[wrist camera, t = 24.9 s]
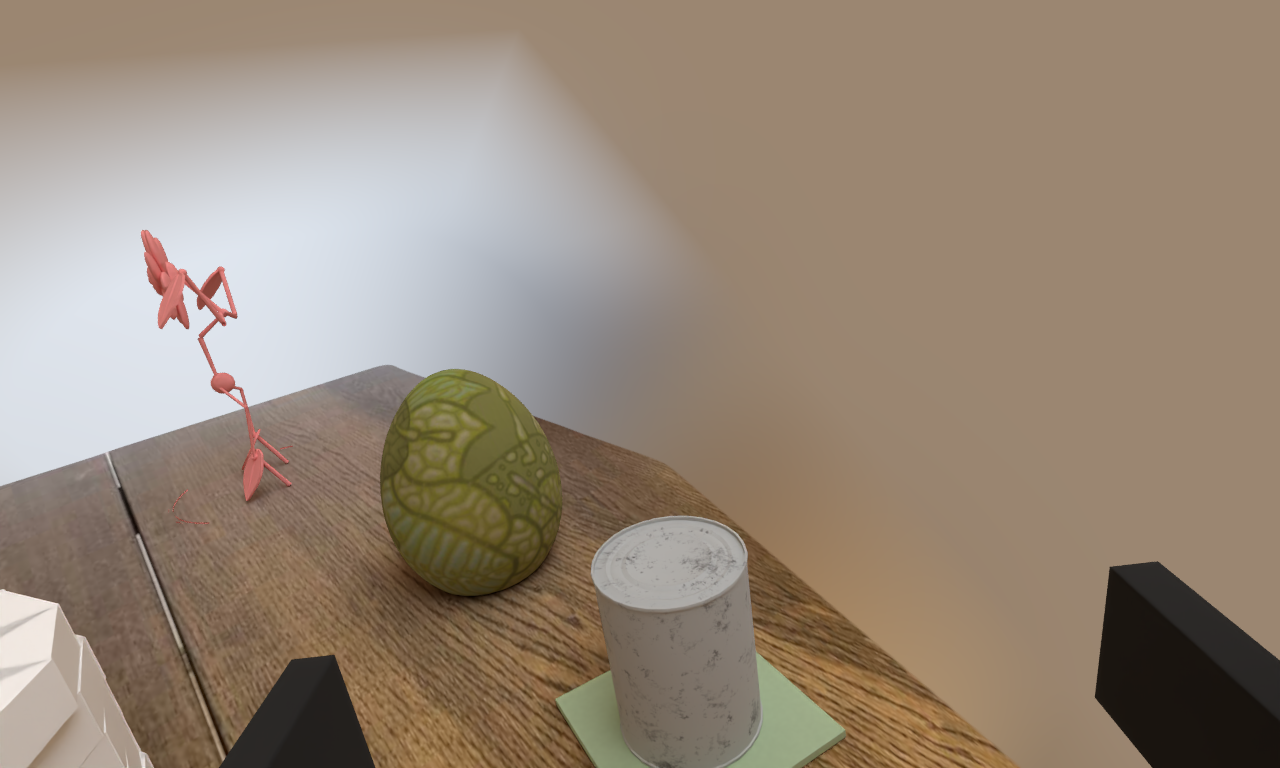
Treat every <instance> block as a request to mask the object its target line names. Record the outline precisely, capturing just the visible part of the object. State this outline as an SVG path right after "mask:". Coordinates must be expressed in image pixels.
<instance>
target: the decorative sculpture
mask: <svg viewBox="0 0 1280 768" xmlns="http://www.w3.org/2000/svg"><path fill="white" fill-rule="evenodd" d="M380 489H381V500H382V507H383V513H384V517H385V521H386V524H387V527H388V530H389V532H390V535H391V538H392V540H393V542H394V544H395V546H396V548H397V549H398V551H399V553H400V554H401V556H402V557H403V558H404V560H405V561H406V562H407V564H408V565H409V566H410V567H411V568H412V569H413V570H414V571H415V572H416V573H417V574H418V575H419V576H421V577H422V578H423V579H424V580H426V581H427V582H429V583H430V584H432V585H433V586H435V587H437V588H439V589H441V590H443V591H445V592H448V593H451V594H456V595H463V596H476V595H485V594H490V593H493V592H497V591H500V590H504V589H506V588H508V587H511V586H513V585H515V584H517V583H519V582H520V581H522V580H523V579H525V578H526V577H528V576H529V575H530V574H532V573H533V572H534V571H535V570H536V569H537V568H538V567H539V566H540V565H541V564H542V562H543V561H544V559H545V558H546V556H547V554H548V552H549V551H550V549H551V547H552V545H553V543H554V540H555V538H556V535H557V532H558V528H559V524H560V519H561V513H562V488H561V480H560V475H559V470H558V466H557V462H556V459H555V457H554V454H553V451H552V449H551V447H550V444H549V442H548V440H547V438H546V436H545V434H544V432H543V431H542V429H541V427H540V426H539V424H538V422H537V421H536V420H535V418H534V417H533V416H532V414H531V413H530V412H529V411H528V409H527V408H526V407H525V406H524V405H523V404H522V403H521V402H520V401H519V400H518V399H517V398H516V397H515V396H514V395H513V394H512V393H510V392H509V391H508V390H507V389H505V388H504V387H503V386H501V385H499V384H498V383H496V382H495V381H493V380H492V379H490V378H488V377H486V376H483V375H481V374H478V373H476V372H472V371H468V370H461V369H449V370H443V371H440V372H437V373H435V374H432V375H430V376H428V377H427V378H425V379H424V380H422V381H421V382H420V383H419V384H418V385H417V386H416V387H415V388H414V389H413V390H412V391H411V392H410V393H409V394H408V395H407V397H406V398H405V400H404V401H403V403H402V404H401V406H400V408H399V409H398V411H397V413H396V415H395V417H394V419H393V421H392V423H391V426H390V429H389V431H388V434H387V437H386V440H385V445H384V449H383V455H382V462H381V472H380Z"/></svg>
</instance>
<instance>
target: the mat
mask: <svg viewBox="0 0 1280 768" xmlns="http://www.w3.org/2000/svg"><path fill="white" fill-rule="evenodd" d="M756 660H757V670H758V680H759V690H760V699H761V703H762V707H763V722H762V726H761V729H760V732H759V735H758V737H757V739H756V740H755V742H754V744H753V745H752V747H751V748H750V749H749V750H748V751H747V752H746V753H745V754H744V755H743V756H742V757H741V758H740V759H739V760H737V761H736V762H734V763H732V764H731V765H729V766H728V767H726V768H802V767H803V766H805V765H806V764H808V763H809V762H810V761H812V760H813V759H815V758H816V757H818V756H819V755H820V754H822V753H823V752H825V751H826V750H828V749H829V748H831V747H832V746H833V745H835V744H836V743H838V742H839V741H841V740H842V739H843V738H845V737H846V734H845V729H844V728H842V727H841V726H840V725H839V724H838V723H837V722H836V721H834V720H833V719H832V718H831V717H830V716H829V715H828V714H826V713H825V712H824V711H823V710H822V709H821V708H820V707H818V706H817V705H816V704H815V703H814V702H813V701H812V700H811V699H809V698H808V697H807V696H806V695H805V694H804V693H803V692H801V691H800V690H799V689H798V688H797V687H796V686H795V685H793V684H792V683H791V682H790V681H789V680H788V679H787V678H786V677H784V676H783V675H782V674H781V673H780V672H779V671H778V670H776V669H775V668H774V667H773V666H772V665H771V664H770V663H768V662H767V661H766V660H765V659H764V658H763V657H762V656H760V655H759V654H758V653H757V652H756ZM555 700H556V705H557V707H558V708H559V710H560V712H561V713H562V715H563V716H564V718H565V720H566V721H567V723H568V724H569V726H570V728H571V729H572V731H573V732H574V734H575V736H576V737H577V739H578V740H579V742H580V744H581V745H582V747H583V749H584V750H585V752H586V753H587V755H588V757H589V758H590V760H591V761H592V763H593V765H594V766H595V768H651V767H649V766H647V765H645V764H643V763H642V762H641V761H640V760H639V759H638V758H637V757H636V756H635V755H633V754H632V752H631V751H630V749H629V748H628V746H627V745H626V743H625V742H624V738H623V735H622V732H621V729H620V716H619V710H618V705H617V700H616V695H615V690H614V684H613V679H612V674H611V670H609V671H608V672H606V673H604V674H602V675H600V676H598V677H596V678H594V679H592V680H591V681H589V682H587V683H585V684H583V685H581V686H579V687H577V688H575V689H574V690H572V691H570V692H568V693H566V694H564V695H562V696H560V697H558V698H556V699H555Z"/></svg>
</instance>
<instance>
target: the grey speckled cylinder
mask: <svg viewBox="0 0 1280 768" xmlns="http://www.w3.org/2000/svg"><path fill="white" fill-rule="evenodd" d="M747 557H748V553H747V550H746V547H745V544H744V542H743V540H742V539H741V538H740V537H739V535H738V534H737V533H736V532H734V531H733V530H732V529H730V528H729V527H728V526H726V525H723V524H721V523H719V522H716V521H714V520H710V519H706V518H701V517H692V516H668V517H661V518H654V519H651V520H647V521H643V522H640V523H637V524H635V525H632V526H630V527H627V528H625V529H623V530H622V531H620V532H618V533H617V534H615V535H613V536H612V537H611V538H610V539H608V540H607V541H606V542H605V543H604V544H603V545H602V546H601V547H600V549H599V550H598V551H597V552H596V554H595V556H594V559H593V561H592V564H591V577H592V580H593V583H594V586H595V590H596V595H597V601H598V606H599V611H600V616H601V622H602V627H603V632H604V637H605V642H606V648H607V653H608V658H609V663H610V669H611V674H612V679H613V684H614V690H615V695H616V700H617V705H618V710H619V716H620V729H621V732H622V735H623V738H624V742H625V743H626V745H627V746H628V748H629V749H630V751H631V752H632V754H633V755H635V756H636V757H637V758H638V759H639V760H640V761H641V762H642V763H643V764H645V765H647V766H649V767H651V768H726V767H728V766H729V765H731V764H732V763H734V762H736V761H737V760H739V759H740V758H741V757H742V756H743V755H744V754H745V753H746V752H747V751H748V750H749V749H750V748H751V747H752V745H753V744H754V742H755V740H756V739H757V737H758V735H759V732H760V729H761V726H762V722H763V707H762V703H761V699H760V690H759V680H758V670H757V660H756V650H755V640H754V630H753V620H752V610H751V600H750V589H749V579H748V569H747Z"/></svg>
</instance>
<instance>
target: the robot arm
mask: <svg viewBox="0 0 1280 768" xmlns="http://www.w3.org/2000/svg"><path fill="white" fill-rule="evenodd" d="M1095 698H1096V699H1097V701H1098V702H1099V703H1100V704H1101V705H1102V707H1103V708H1104V709H1105V710H1106V712H1107V713H1108V714H1109V715H1110V716H1111V718H1112V719H1113V720H1114V721H1115V722H1116V724H1117V725H1118V726H1119V727H1120V729H1121V730H1122V731H1123V732H1124V734H1125V735H1126V736H1127V737H1128V738H1129V740H1130V741H1131V742H1132V743H1133V745H1134V746H1135V747H1136V748H1137V749H1138V751H1139V752H1140V753H1141V754H1142V756H1143V757H1144V758H1145V759H1146V760H1147V762H1148V763H1149V764H1150V765H1151V767H1152V768H1280V660H1278V659H1277V658H1276V657H1275V656H1273V655H1272V654H1271V653H1270V652H1269V651H1267V650H1266V649H1265V648H1263V647H1262V646H1261V645H1260V644H1259V643H1258V642H1256V641H1255V640H1254V639H1253V638H1251V637H1250V636H1249V635H1248V634H1246V633H1245V632H1244V631H1243V630H1242V629H1240V628H1239V627H1238V626H1237V625H1235V624H1234V623H1233V622H1232V621H1230V620H1229V619H1228V618H1227V617H1225V616H1224V615H1223V614H1222V613H1221V612H1219V611H1218V610H1217V609H1216V608H1214V607H1213V606H1212V605H1211V604H1210V603H1208V602H1207V601H1206V600H1204V599H1203V598H1202V597H1201V596H1199V594H1197V593H1196V592H1195V591H1194V590H1192V589H1191V588H1190V587H1189V586H1187V585H1186V584H1185V583H1184V582H1182V581H1181V580H1180V579H1179V578H1178V577H1176V576H1175V575H1174V574H1173V573H1171V572H1170V571H1169V570H1168V569H1167V568H1165V567H1164V566H1163V565H1161V564H1160V563H1159V562H1148V563H1140V564H1132V565H1122V566H1113V567H1110V570H1109V579H1108V588H1107V596H1106V605H1105V614H1104V622H1103V631H1102V640H1101V648H1100V657H1099V666H1098V674H1097V683H1096V692H1095ZM219 768H375V765H374V763H373V760H372V757H371V754H370V752H369V749H368V746H367V743H366V741H365V738H364V735H363V732H362V730H361V727H360V724H359V721H358V719H357V716H356V713H355V710H354V708H353V705H352V702H351V699H350V697H349V694H348V691H347V688H346V686H345V683H344V680H343V677H342V675H341V672H340V669H339V666H338V664H337V661H336V658H335V655H329V656H320V657H311V658H302V659H294V660H291V661H290V663H289V664H288V666H287V667H286V669H285V670H284V672H283V673H282V675H281V676H280V678H279V679H278V681H277V682H276V684H275V685H274V687H273V688H272V690H271V691H270V693H269V694H268V696H267V697H266V699H265V700H264V702H263V703H262V705H261V706H260V708H259V709H258V710H257V712H256V713H255V715H254V716H253V718H252V719H251V721H250V722H249V724H248V725H247V727H246V728H245V730H244V731H243V733H242V734H241V736H240V737H239V739H238V740H237V742H236V743H235V745H234V746H233V748H232V749H231V751H230V752H229V754H228V755H227V757H226V758H225V760H224V761H223V763H222V764H221V766H220V767H219Z"/></svg>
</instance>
